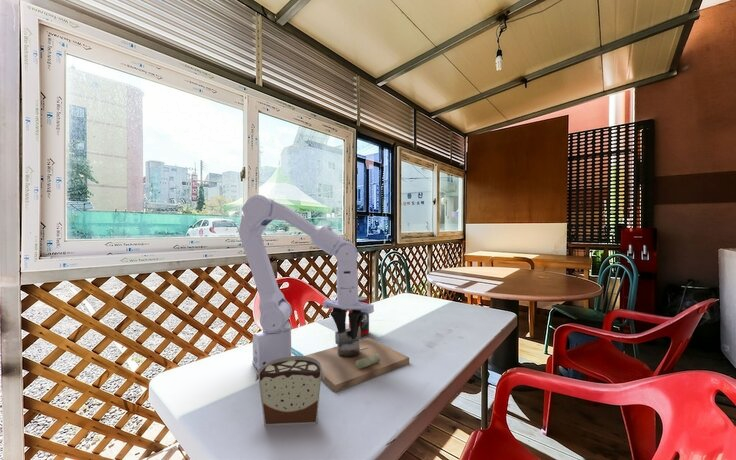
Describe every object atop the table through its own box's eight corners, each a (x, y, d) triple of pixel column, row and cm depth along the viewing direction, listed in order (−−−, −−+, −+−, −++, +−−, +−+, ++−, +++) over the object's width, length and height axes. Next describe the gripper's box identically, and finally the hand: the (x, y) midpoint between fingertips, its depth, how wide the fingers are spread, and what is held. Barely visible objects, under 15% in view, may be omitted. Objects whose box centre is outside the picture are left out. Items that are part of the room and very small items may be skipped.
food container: (328, 403, 59) (327, 353, 59) (325, 423, 52) (324, 367, 52) (266, 405, 58) (265, 355, 58) (255, 426, 52) (255, 370, 52)
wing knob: (343, 359, 74) (343, 335, 74) (331, 352, 79) (331, 329, 79) (365, 352, 78) (365, 329, 78) (352, 345, 83) (352, 323, 83)
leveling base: (335, 392, 62) (334, 375, 62) (301, 362, 77) (301, 349, 77) (409, 363, 75) (409, 349, 75) (368, 342, 90) (368, 331, 90)
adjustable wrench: (272, 342, 89) (288, 338, 93) (273, 345, 89) (288, 341, 93) (293, 357, 79) (310, 351, 82) (294, 360, 79) (310, 355, 82)
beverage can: (369, 337, 94) (368, 300, 94) (348, 337, 94) (347, 300, 94) (369, 330, 101) (368, 295, 101) (349, 330, 101) (349, 295, 101)
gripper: (377, 285, 79) (378, 335, 79) (332, 282, 85) (333, 328, 85) (366, 290, 73) (367, 345, 73) (318, 286, 79) (319, 337, 79)
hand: (348, 337), depth 79 cm, fingers closed on wing knob, 3 cm apart
